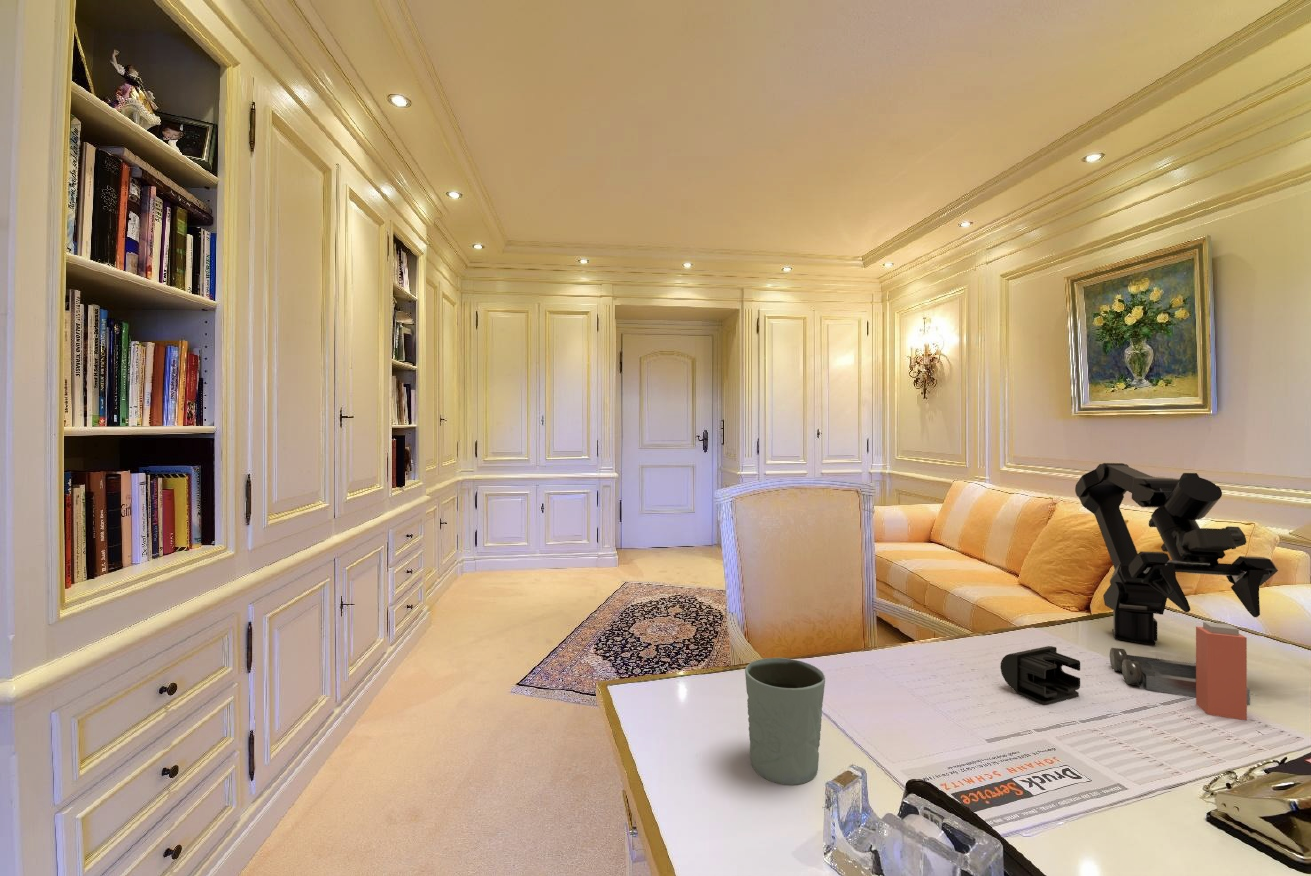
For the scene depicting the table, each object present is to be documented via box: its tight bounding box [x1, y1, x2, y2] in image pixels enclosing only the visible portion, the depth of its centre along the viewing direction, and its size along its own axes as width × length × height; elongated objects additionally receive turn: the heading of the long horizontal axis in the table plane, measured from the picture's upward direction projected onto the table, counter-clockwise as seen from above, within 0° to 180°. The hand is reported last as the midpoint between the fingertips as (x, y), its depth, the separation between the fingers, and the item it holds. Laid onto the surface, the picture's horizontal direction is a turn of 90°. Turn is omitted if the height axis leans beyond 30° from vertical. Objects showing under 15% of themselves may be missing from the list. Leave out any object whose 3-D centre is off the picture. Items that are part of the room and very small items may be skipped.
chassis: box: [1109, 647, 1251, 706], centre depth 95 cm, size 10×15×4 cm, turn 66°
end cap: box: [999, 645, 1081, 706], centre depth 92 cm, size 10×7×7 cm
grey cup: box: [744, 657, 826, 786], centre depth 71 cm, size 10×10×12 cm
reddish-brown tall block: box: [1195, 621, 1248, 721], centre depth 85 cm, size 4×4×14 cm
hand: (1222, 613), depth 91 cm, fingers open, 9 cm apart
